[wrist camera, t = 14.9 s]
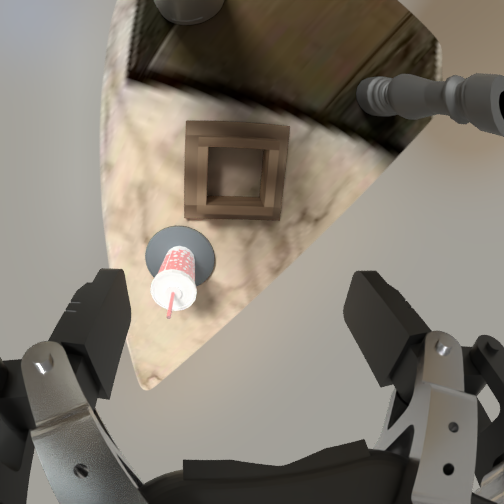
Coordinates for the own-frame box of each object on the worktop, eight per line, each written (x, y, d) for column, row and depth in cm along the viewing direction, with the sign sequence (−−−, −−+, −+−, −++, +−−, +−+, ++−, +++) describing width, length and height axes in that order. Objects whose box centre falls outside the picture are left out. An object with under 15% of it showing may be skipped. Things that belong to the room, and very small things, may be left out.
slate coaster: (143, 225, 41) (142, 227, 40) (215, 226, 43) (215, 227, 42) (149, 286, 46) (149, 288, 45) (213, 287, 47) (214, 289, 47)
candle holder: (396, 102, 36) (526, 120, 14) (371, 123, 38) (502, 153, 16) (374, 70, 34) (505, 62, 12) (348, 91, 35) (479, 89, 13)
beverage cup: (171, 280, 45) (159, 341, 33) (154, 249, 42) (133, 304, 30) (205, 268, 45) (203, 328, 33) (189, 235, 42) (180, 289, 30)
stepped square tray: (186, 120, 35) (183, 121, 31) (288, 126, 37) (297, 127, 33) (184, 216, 41) (181, 227, 37) (278, 218, 43) (285, 230, 39)
